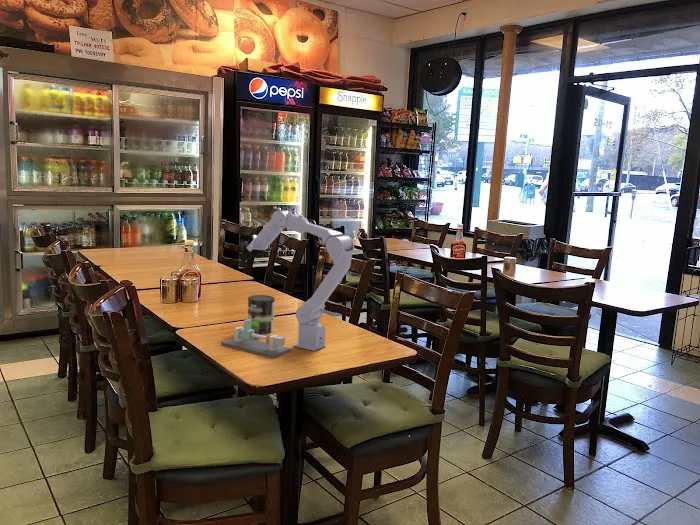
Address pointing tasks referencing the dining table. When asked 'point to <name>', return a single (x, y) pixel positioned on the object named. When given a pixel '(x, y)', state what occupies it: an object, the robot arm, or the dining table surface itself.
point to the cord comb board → (258, 344)
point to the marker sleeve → (247, 330)
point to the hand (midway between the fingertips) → (247, 258)
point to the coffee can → (261, 313)
